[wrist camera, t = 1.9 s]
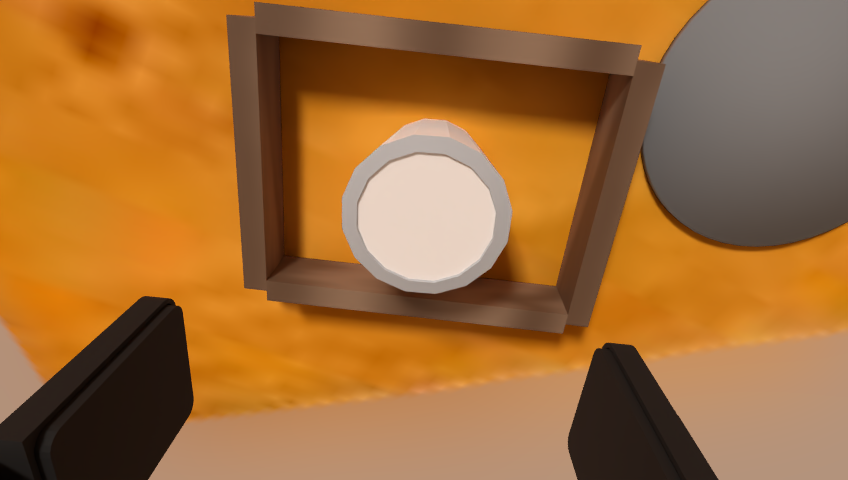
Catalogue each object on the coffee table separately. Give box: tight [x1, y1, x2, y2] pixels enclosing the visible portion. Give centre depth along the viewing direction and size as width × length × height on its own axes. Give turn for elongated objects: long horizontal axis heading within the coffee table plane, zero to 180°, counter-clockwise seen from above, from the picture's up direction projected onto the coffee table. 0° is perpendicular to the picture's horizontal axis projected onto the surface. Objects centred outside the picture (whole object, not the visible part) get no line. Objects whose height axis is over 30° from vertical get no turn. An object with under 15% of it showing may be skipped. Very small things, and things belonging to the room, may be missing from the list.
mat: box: [641, 0, 848, 247], centre depth 23 cm, size 14×14×1 cm
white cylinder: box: [342, 119, 512, 294], centre depth 22 cm, size 7×7×7 cm
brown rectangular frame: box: [226, 2, 666, 334], centre depth 24 cm, size 18×14×3 cm
